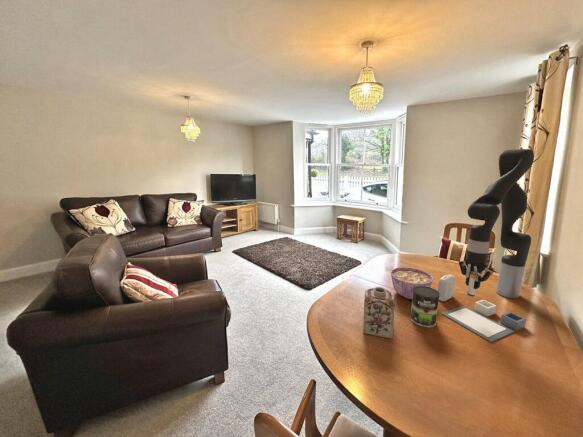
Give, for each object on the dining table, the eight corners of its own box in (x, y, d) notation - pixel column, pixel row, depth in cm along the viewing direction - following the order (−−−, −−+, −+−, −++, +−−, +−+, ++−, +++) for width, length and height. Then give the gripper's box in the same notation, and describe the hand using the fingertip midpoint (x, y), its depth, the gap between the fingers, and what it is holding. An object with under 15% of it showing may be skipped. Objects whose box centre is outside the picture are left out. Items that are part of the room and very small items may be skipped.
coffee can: (438, 329, 106) (441, 299, 103) (411, 324, 110) (414, 295, 107) (434, 315, 116) (437, 287, 113) (409, 311, 119) (411, 284, 116)
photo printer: (445, 293, 135) (448, 271, 132) (454, 296, 131) (457, 274, 129) (435, 299, 129) (437, 276, 127) (444, 302, 126) (447, 279, 123)
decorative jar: (391, 322, 112) (394, 284, 108) (393, 339, 101) (396, 298, 97) (363, 317, 116) (365, 281, 112) (362, 333, 105) (363, 294, 101)
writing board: (463, 306, 122) (463, 305, 122) (514, 332, 104) (514, 330, 103) (441, 313, 117) (441, 312, 117) (491, 342, 98) (491, 341, 98)
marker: (469, 292, 115) (472, 272, 112) (476, 295, 112) (479, 274, 110) (465, 294, 113) (468, 273, 111) (472, 297, 111) (475, 276, 109)
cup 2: (508, 319, 112) (509, 311, 111) (524, 327, 106) (526, 318, 105) (500, 323, 109) (501, 314, 109) (516, 331, 104) (517, 322, 103)
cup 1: (481, 307, 122) (483, 299, 121) (495, 313, 116) (496, 305, 115) (474, 309, 119) (475, 302, 119) (487, 316, 114) (488, 308, 113)
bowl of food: (388, 301, 128) (390, 280, 126) (389, 283, 146) (390, 265, 144) (433, 308, 121) (435, 286, 118) (428, 289, 139) (430, 269, 137)
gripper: (501, 253, 103) (494, 292, 107) (467, 243, 116) (462, 278, 120) (489, 256, 101) (483, 296, 104) (455, 246, 113) (451, 281, 117)
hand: (472, 286), depth 112 cm, fingers closed on marker, 2 cm apart
